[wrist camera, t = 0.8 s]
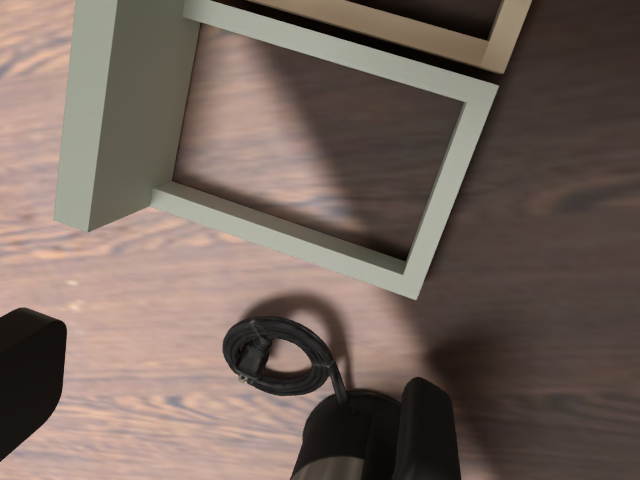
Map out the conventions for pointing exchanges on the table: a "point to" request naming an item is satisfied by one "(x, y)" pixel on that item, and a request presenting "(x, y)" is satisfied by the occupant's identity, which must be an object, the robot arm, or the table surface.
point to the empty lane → (167, 116)
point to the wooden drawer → (419, 30)
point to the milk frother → (351, 413)
